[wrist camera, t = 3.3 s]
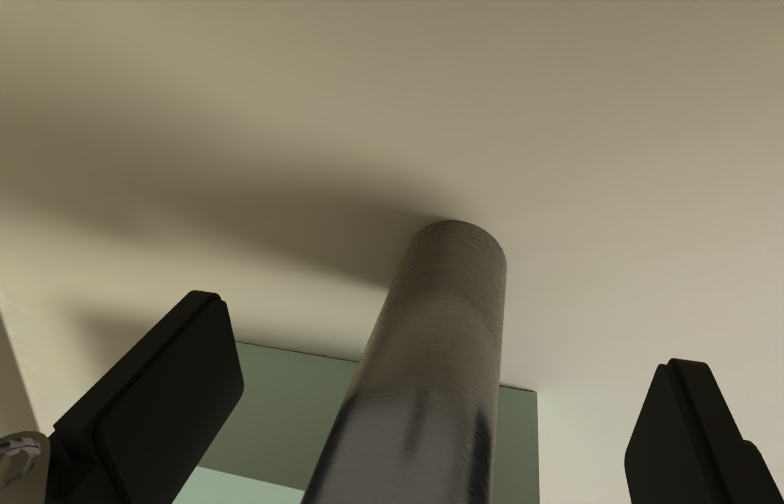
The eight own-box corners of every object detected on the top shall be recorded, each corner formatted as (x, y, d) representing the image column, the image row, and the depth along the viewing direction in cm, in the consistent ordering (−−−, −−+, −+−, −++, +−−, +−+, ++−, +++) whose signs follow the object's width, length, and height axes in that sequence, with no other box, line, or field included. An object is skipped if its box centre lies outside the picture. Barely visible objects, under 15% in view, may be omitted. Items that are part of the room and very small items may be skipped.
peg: (405, 215, 14) (217, 605, 5) (512, 226, 13) (488, 684, 5) (404, 300, 15) (257, 705, 7) (500, 313, 15) (466, 775, 6)
